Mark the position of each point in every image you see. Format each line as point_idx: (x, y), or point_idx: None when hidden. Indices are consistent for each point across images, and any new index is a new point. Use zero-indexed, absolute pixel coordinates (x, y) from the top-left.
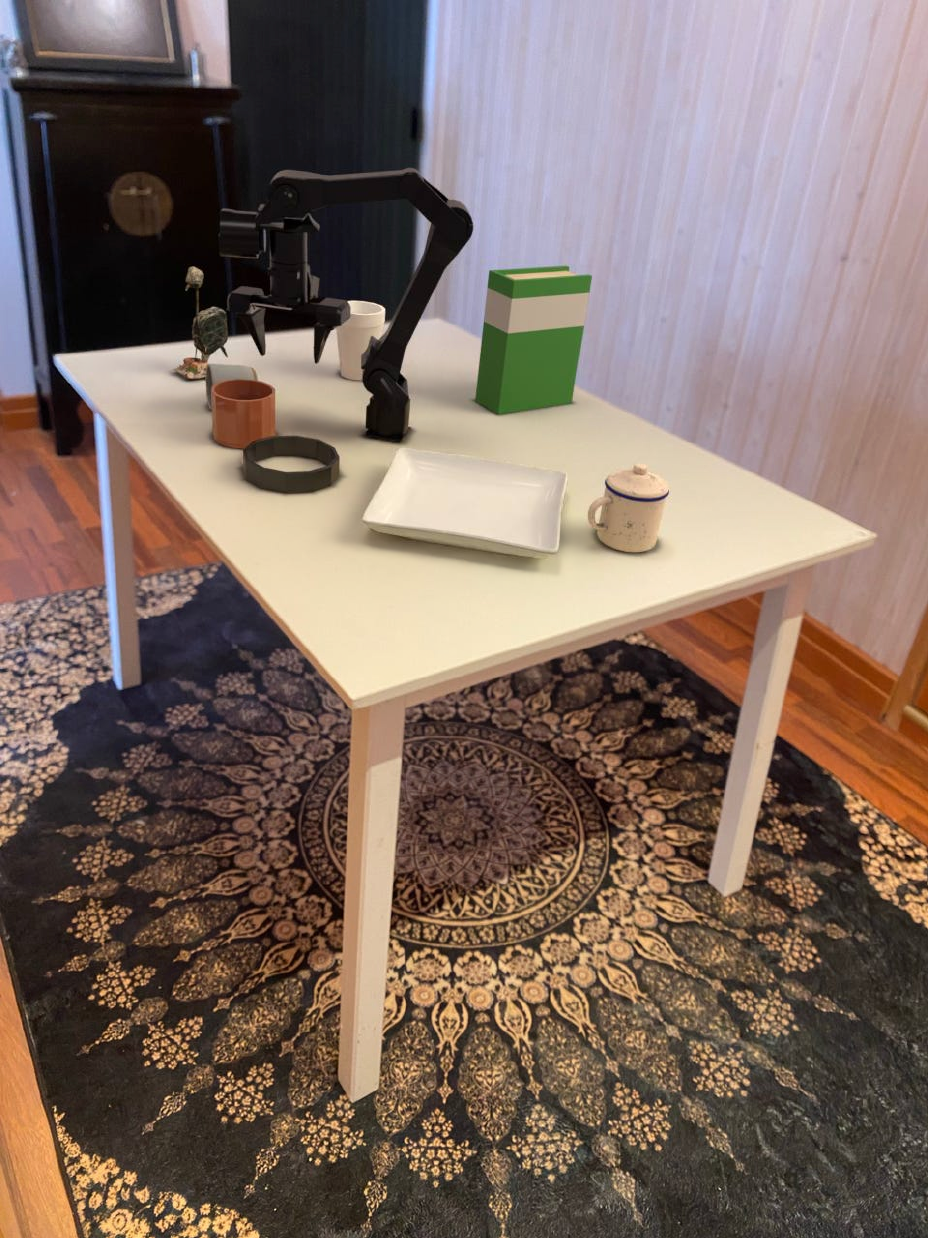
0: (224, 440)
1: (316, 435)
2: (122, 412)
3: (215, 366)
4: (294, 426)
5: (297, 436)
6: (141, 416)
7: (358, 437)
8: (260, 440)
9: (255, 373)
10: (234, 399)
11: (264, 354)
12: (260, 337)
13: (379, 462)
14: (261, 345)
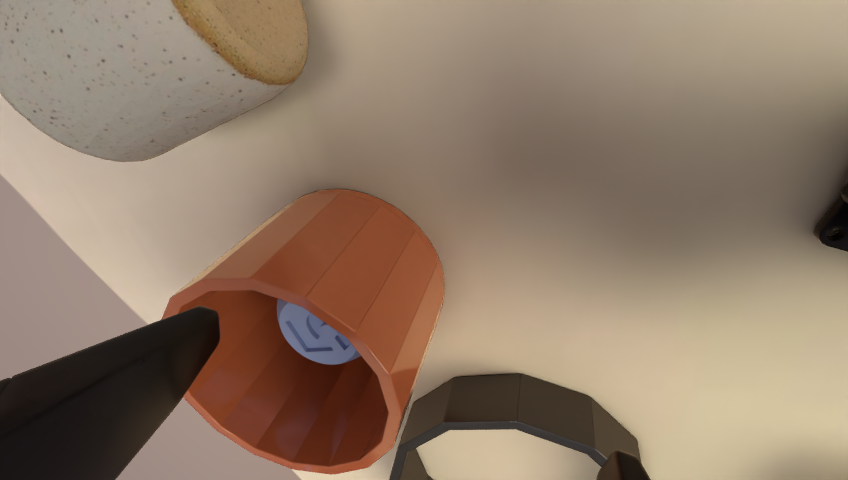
0: None
1: (586, 240)
2: (4, 151)
3: (22, 93)
4: (496, 168)
5: (521, 429)
6: (56, 170)
7: (774, 240)
8: (417, 445)
9: (211, 30)
10: (283, 461)
11: (218, 326)
12: (101, 462)
13: (805, 423)
14: (163, 417)
